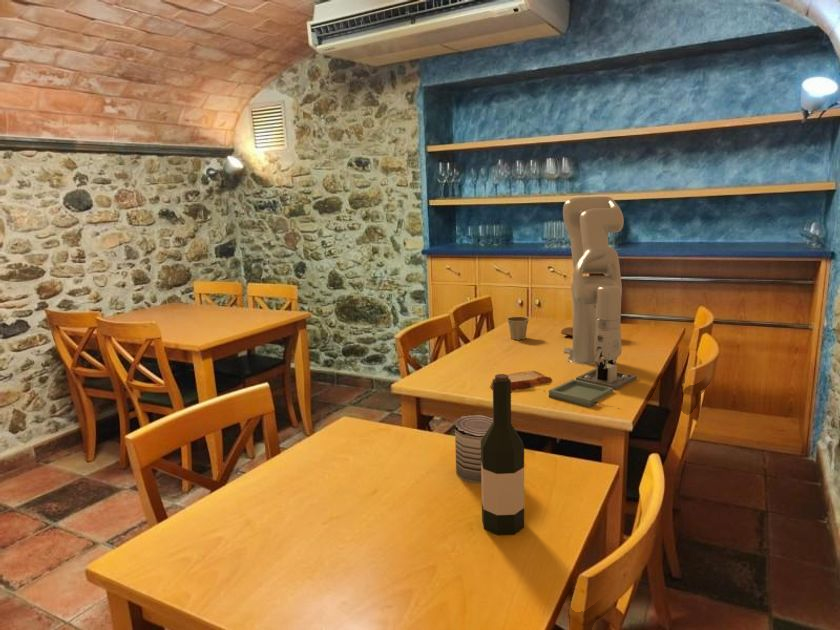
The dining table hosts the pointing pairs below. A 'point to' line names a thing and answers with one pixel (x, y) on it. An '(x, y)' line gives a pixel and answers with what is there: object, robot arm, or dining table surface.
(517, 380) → the bread slice
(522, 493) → the wine bottle
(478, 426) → the can
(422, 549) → the dining table surface
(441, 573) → the dining table surface
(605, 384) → the bin
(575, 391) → the bin
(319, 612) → the dining table surface
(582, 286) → the robot arm
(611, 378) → the beige block
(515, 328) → the flower pot
